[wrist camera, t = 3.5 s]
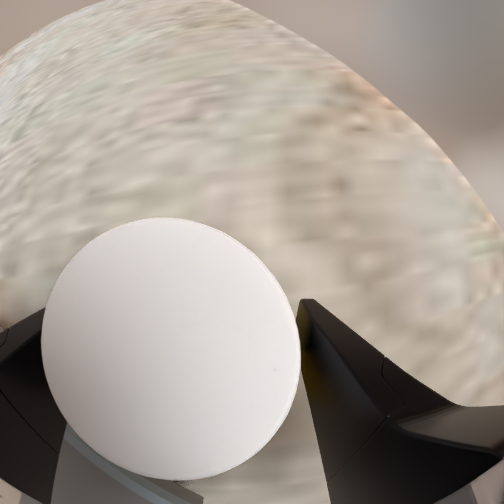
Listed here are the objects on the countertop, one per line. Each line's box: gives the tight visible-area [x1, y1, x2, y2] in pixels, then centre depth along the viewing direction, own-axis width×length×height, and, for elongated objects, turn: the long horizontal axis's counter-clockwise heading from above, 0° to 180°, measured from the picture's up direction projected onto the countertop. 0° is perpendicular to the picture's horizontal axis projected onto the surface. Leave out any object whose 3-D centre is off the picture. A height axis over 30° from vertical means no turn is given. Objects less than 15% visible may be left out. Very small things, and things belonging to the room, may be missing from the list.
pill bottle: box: [41, 217, 301, 480], centre depth 9 cm, size 6×6×11 cm
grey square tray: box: [0, 325, 203, 504], centre depth 8 cm, size 18×16×4 cm
